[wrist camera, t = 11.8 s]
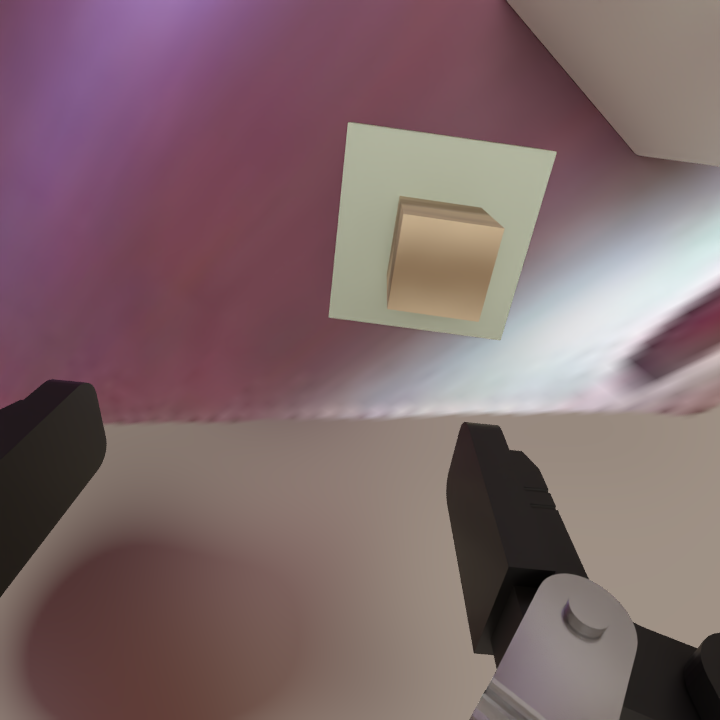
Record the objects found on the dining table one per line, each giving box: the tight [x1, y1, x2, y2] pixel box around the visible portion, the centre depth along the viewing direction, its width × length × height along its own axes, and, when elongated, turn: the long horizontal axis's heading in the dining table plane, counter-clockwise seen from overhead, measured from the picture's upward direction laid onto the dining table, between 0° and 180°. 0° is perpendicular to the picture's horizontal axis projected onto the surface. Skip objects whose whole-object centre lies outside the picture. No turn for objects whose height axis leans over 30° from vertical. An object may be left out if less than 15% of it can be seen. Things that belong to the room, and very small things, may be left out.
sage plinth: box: [329, 122, 557, 340], centre depth 30 cm, size 12×12×4 cm
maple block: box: [387, 196, 505, 322], centre depth 26 cm, size 5×5×6 cm
